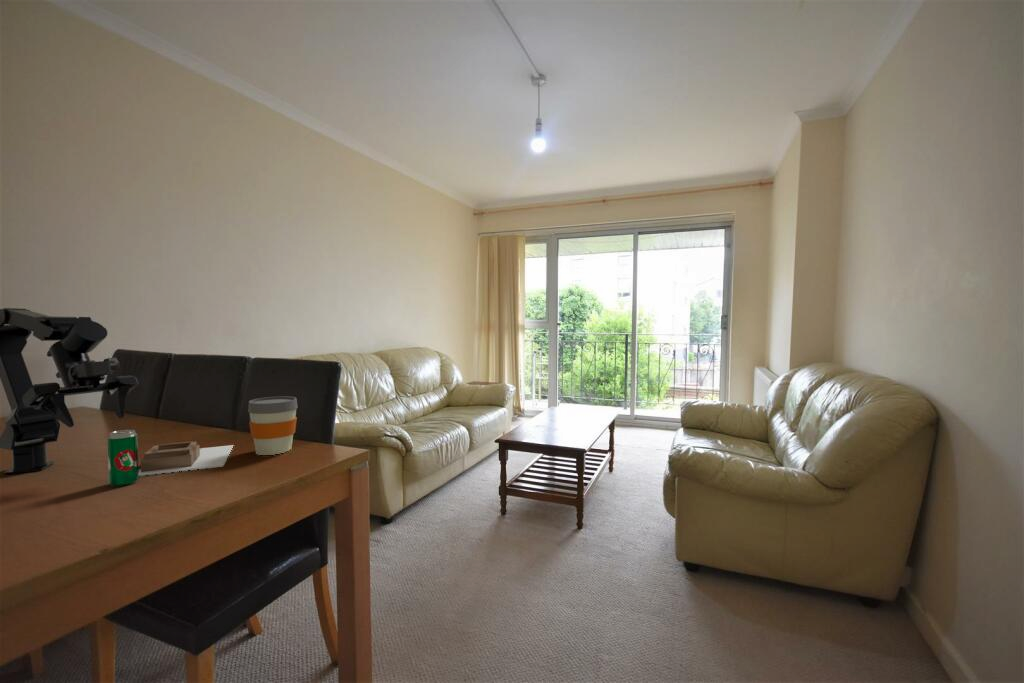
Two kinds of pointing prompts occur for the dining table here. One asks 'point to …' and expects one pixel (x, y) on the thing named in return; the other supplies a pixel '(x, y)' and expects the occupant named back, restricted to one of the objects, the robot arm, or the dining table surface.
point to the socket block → (170, 456)
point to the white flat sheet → (200, 460)
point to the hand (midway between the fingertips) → (98, 422)
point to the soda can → (122, 458)
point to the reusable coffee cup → (272, 424)
